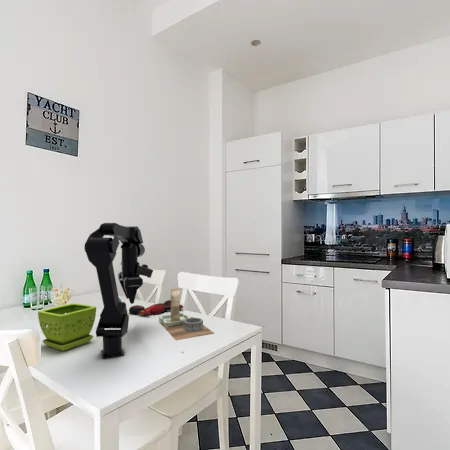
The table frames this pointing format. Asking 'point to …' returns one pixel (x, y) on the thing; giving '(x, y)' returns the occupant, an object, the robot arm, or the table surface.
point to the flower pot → (67, 325)
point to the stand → (184, 327)
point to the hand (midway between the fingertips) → (130, 300)
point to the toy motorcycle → (151, 308)
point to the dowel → (175, 305)
